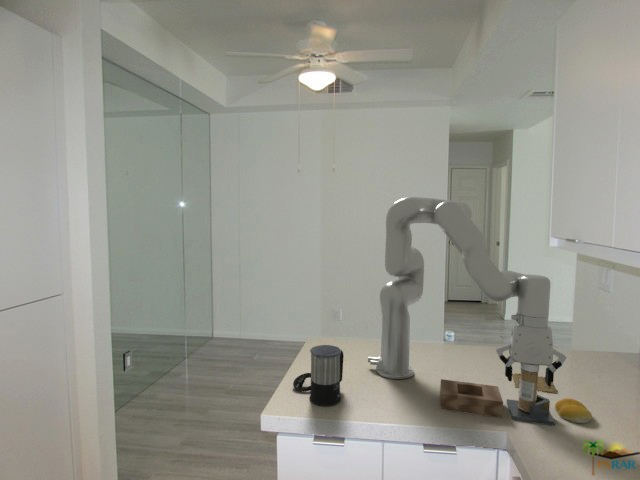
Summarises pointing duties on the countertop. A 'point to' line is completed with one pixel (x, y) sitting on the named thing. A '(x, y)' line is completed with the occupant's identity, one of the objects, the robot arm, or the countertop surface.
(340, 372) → the milk frother
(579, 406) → the bread roll
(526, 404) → the sprinkles bottle
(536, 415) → the v block
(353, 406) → the countertop surface
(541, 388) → the cookie
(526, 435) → the countertop surface
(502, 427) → the countertop surface
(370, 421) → the countertop surface
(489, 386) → the wooden block with hole
